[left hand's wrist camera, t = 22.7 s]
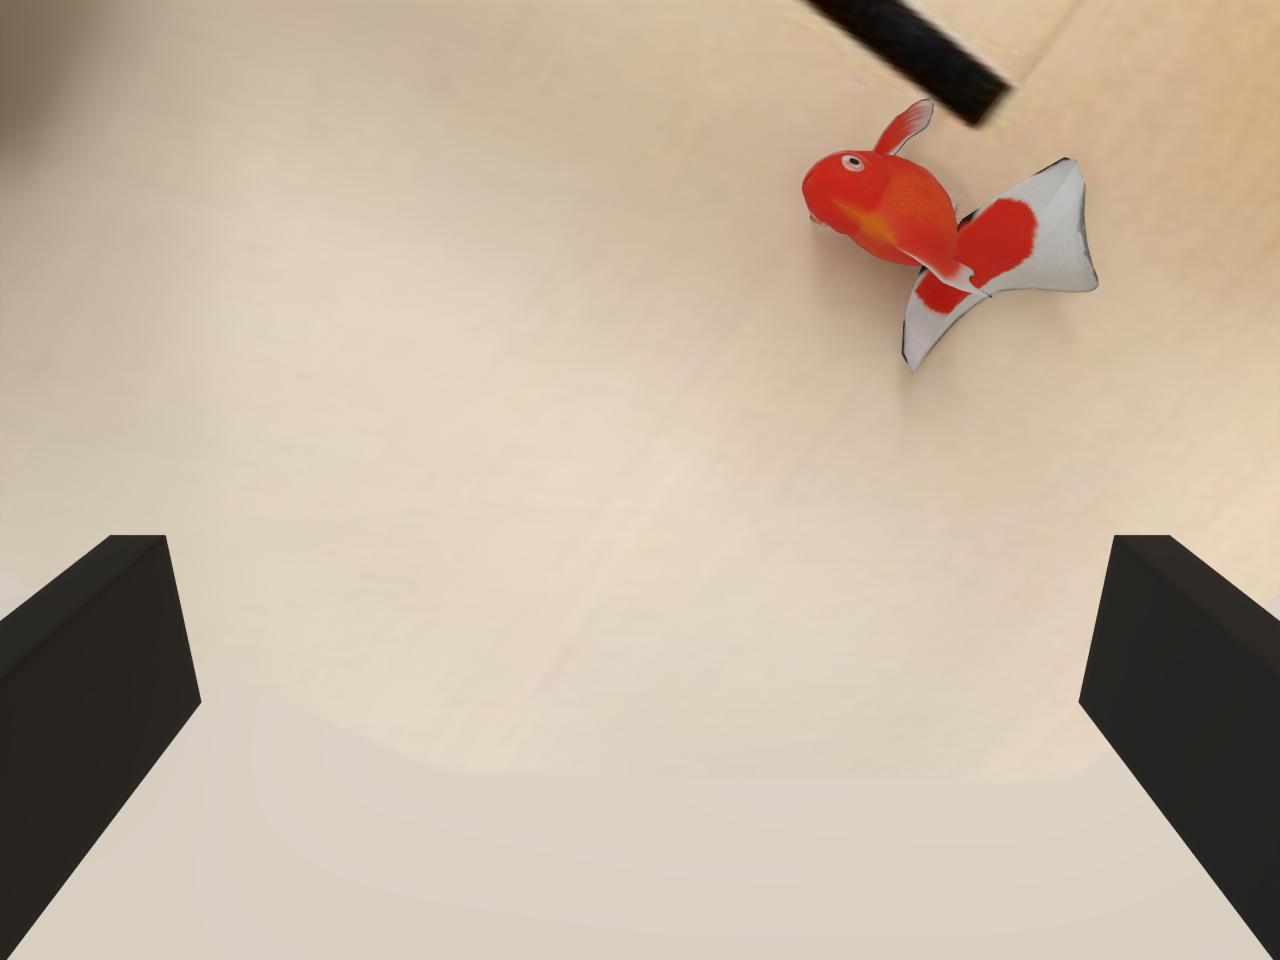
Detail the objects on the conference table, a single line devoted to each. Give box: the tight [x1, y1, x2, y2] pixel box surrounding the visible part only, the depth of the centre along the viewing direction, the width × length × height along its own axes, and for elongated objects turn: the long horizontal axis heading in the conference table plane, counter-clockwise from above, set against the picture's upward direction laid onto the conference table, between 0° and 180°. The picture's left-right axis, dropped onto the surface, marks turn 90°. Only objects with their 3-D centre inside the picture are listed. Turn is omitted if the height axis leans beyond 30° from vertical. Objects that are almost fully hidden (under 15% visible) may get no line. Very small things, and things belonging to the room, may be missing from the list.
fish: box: [802, 99, 1099, 375], centre depth 42 cm, size 11×16×10 cm
